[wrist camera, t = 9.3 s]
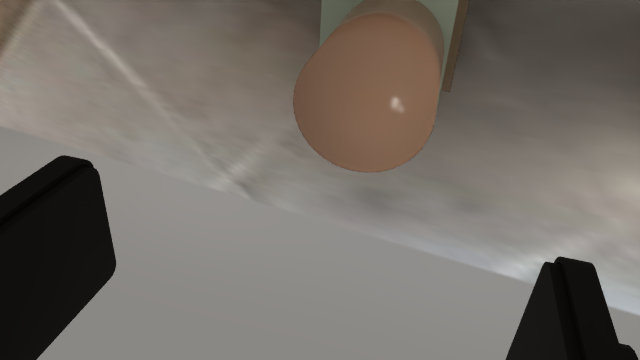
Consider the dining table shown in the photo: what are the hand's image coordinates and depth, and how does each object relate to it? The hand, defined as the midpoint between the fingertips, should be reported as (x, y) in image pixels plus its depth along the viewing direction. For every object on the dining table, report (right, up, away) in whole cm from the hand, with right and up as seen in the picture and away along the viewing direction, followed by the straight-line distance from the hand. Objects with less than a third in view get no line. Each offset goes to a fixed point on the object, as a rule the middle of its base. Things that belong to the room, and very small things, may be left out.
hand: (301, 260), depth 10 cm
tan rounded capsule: (+4, +8, +13) cm, 15 cm away
